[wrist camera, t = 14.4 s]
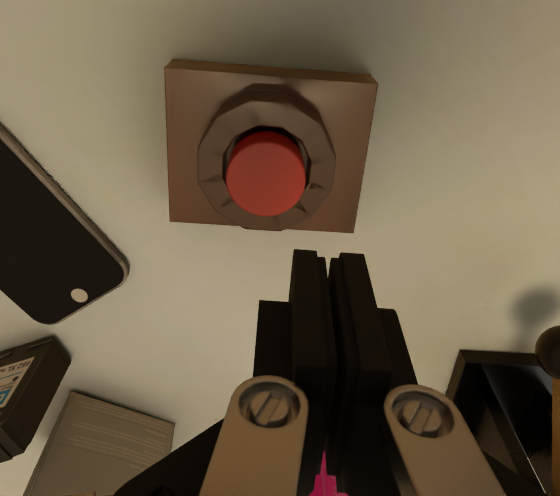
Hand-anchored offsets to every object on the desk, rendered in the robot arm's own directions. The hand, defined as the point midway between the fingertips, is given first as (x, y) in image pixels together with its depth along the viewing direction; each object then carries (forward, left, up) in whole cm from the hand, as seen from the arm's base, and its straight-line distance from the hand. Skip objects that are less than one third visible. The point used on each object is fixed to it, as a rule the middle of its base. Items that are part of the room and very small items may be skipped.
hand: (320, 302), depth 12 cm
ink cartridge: (+16, +17, -17) cm, 29 cm away
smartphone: (+16, +6, -17) cm, 24 cm away
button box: (+1, +1, -17) cm, 17 cm away
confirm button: (+1, +1, -13) cm, 13 cm away
